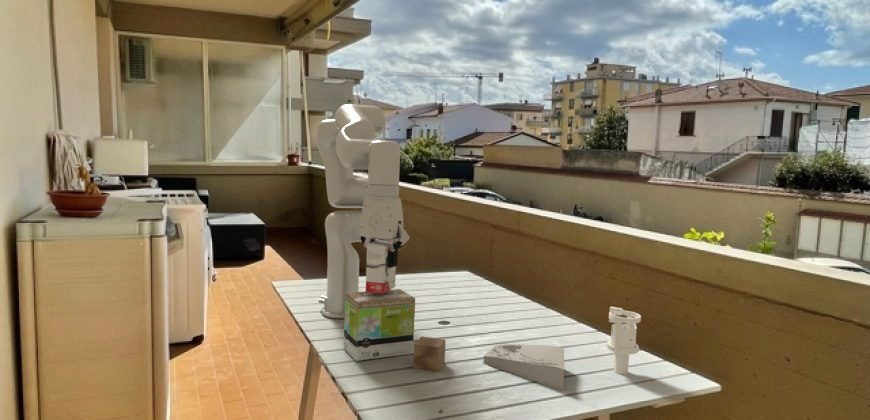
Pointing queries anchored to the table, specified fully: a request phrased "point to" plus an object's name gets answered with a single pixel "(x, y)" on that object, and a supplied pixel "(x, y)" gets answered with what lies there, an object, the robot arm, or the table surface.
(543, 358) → the ramp
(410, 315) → the tea box
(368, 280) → the ink box
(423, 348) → the walnut block
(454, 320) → the table surface
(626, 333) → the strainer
